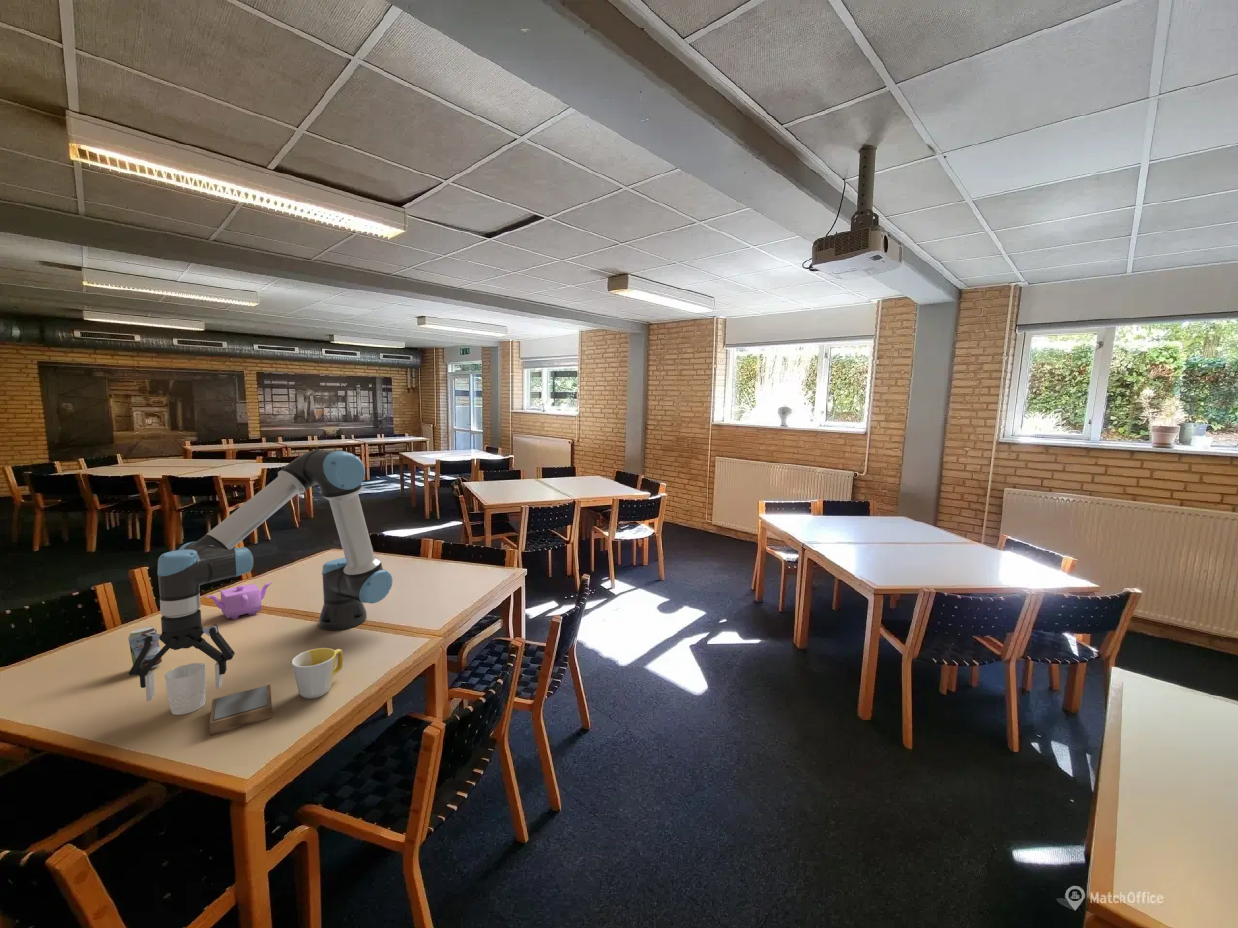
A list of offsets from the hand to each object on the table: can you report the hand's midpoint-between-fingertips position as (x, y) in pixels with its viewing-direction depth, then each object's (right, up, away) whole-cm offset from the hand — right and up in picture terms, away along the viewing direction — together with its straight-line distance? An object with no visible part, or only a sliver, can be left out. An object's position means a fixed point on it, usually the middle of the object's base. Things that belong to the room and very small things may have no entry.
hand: (185, 692), depth 126 cm
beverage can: (-28, -2, +19) cm, 34 cm away
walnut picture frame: (+16, -5, -1) cm, 16 cm away
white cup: (0, -4, +1) cm, 5 cm away
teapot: (-30, +2, +57) cm, 64 cm away
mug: (+29, -4, +10) cm, 31 cm away
